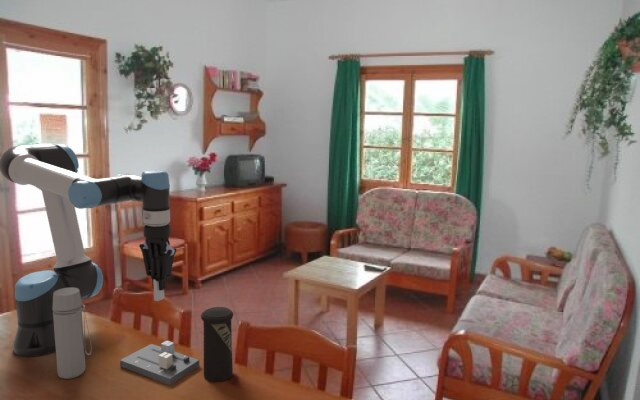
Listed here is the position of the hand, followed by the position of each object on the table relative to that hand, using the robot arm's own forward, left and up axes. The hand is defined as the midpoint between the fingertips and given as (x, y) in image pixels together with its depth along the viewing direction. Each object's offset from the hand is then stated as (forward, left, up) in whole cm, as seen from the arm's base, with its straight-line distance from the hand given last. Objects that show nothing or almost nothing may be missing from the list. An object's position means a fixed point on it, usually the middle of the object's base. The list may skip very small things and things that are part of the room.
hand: (159, 299), depth 144 cm
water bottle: (-15, -18, -20) cm, 31 cm away
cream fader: (+8, -5, -17) cm, 19 cm away
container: (+21, +2, -20) cm, 29 cm away
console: (+3, -3, -19) cm, 20 cm away
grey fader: (+3, 0, -17) cm, 17 cm away
